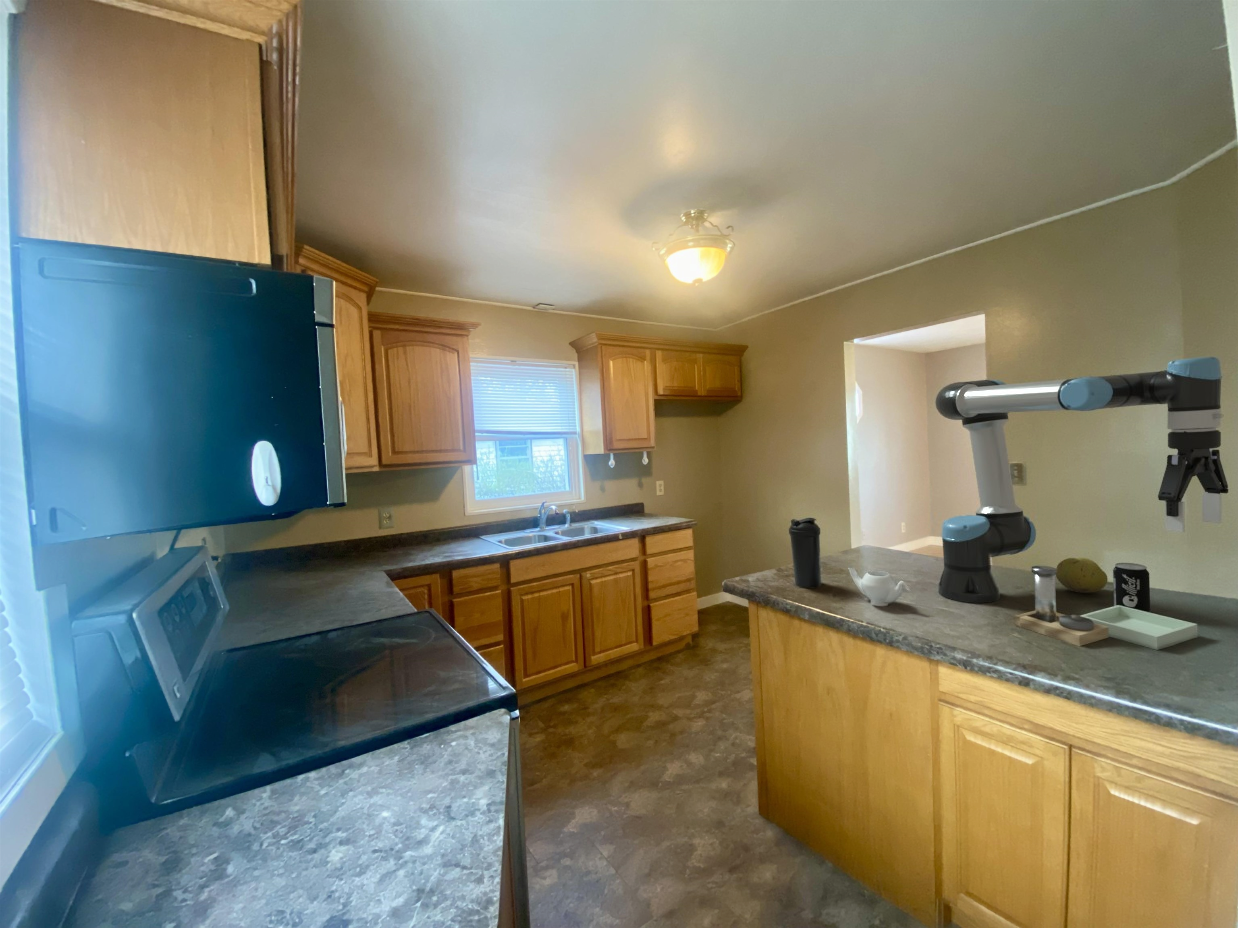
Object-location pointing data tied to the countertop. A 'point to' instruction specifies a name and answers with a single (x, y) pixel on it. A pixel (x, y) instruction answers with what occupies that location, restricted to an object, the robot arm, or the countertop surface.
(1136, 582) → the beverage can
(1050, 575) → the pin
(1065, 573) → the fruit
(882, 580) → the teapot
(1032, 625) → the block
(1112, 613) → the tray
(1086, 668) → the countertop surface
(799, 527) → the water bottle
